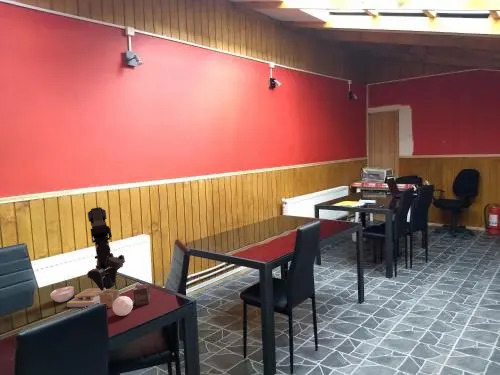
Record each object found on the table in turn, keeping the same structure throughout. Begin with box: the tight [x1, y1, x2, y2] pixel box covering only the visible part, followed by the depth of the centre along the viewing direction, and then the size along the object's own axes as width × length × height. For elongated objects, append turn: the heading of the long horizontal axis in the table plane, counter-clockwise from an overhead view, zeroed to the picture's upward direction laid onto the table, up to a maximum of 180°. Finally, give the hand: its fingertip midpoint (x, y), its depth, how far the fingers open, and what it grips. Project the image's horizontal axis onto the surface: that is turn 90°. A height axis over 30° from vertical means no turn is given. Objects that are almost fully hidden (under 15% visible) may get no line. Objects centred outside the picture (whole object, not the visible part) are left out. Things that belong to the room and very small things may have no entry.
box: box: [132, 283, 152, 306], centre depth 182 cm, size 6×6×7 cm
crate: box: [99, 288, 121, 308], centre depth 183 cm, size 6×6×6 cm
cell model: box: [49, 285, 75, 303], centre depth 196 cm, size 10×12×7 cm
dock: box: [66, 288, 112, 308], centre depth 193 cm, size 16×14×2 cm
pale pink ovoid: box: [112, 295, 135, 317], centre depth 172 cm, size 8×8×12 cm
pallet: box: [73, 287, 107, 300], centre depth 193 cm, size 10×10×2 cm
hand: (108, 286), depth 183 cm, fingers open, 9 cm apart
